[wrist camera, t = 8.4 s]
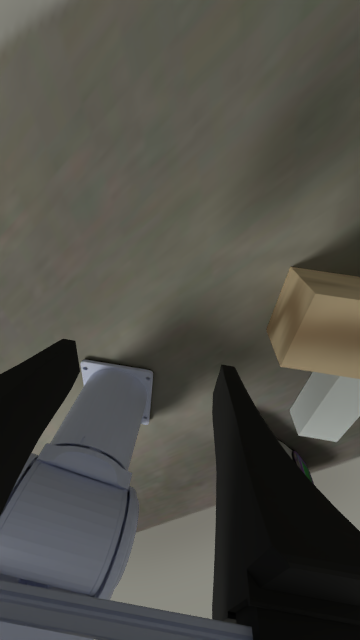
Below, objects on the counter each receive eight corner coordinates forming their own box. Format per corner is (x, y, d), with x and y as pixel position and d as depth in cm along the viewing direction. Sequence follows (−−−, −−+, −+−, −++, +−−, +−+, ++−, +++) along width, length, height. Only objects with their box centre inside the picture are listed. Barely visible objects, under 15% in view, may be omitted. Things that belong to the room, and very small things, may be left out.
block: (331, 338, 21) (362, 379, 17) (265, 328, 21) (280, 366, 17) (367, 277, 18) (416, 308, 14) (290, 266, 18) (315, 293, 14)
